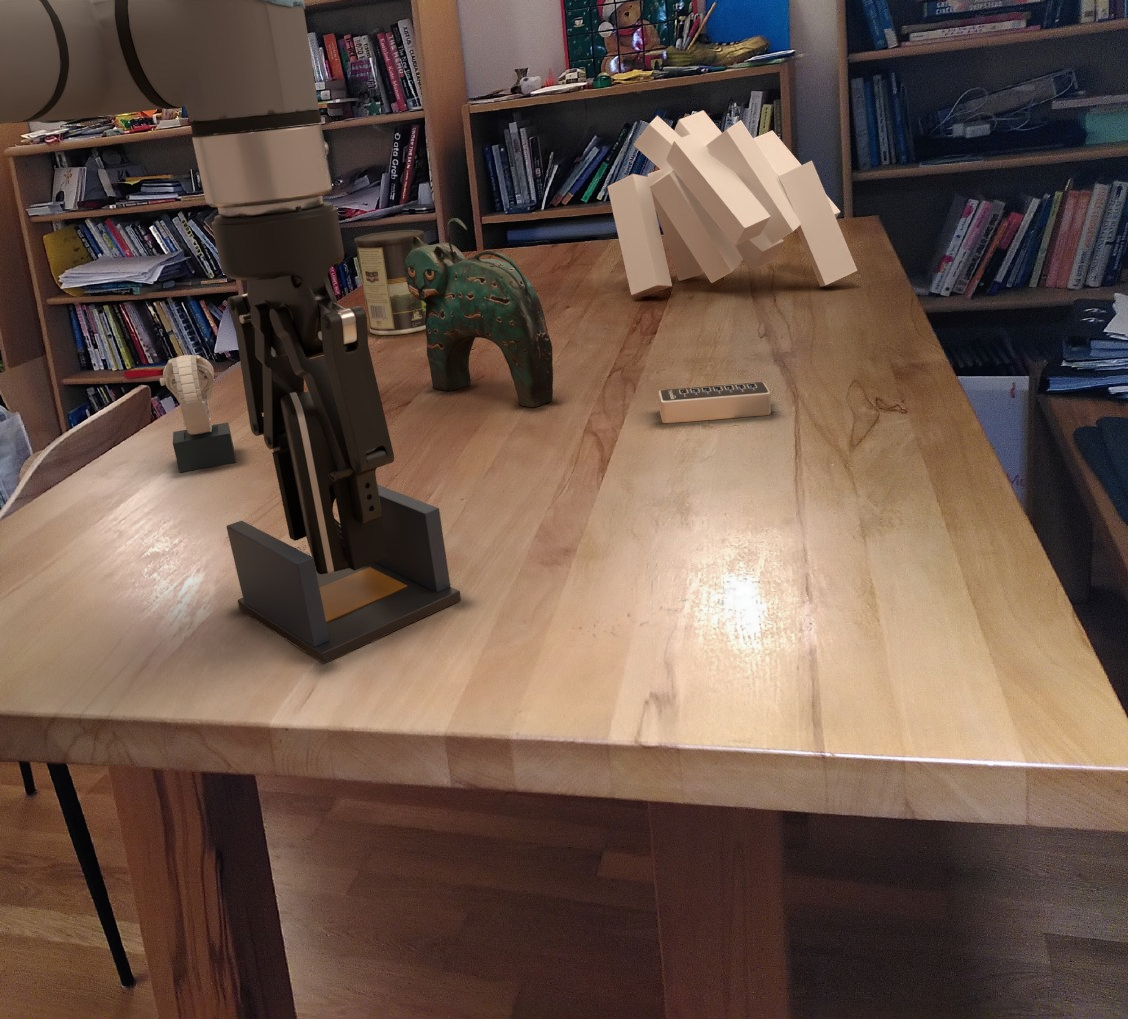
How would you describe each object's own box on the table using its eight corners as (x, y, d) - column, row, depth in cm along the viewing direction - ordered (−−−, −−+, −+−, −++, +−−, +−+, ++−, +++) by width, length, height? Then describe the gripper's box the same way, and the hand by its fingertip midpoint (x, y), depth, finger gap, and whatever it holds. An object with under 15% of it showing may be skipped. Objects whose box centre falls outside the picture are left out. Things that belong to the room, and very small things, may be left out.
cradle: (238, 609, 75) (218, 522, 72) (369, 556, 81) (354, 475, 79) (323, 664, 66) (304, 568, 64) (461, 600, 73) (448, 511, 70)
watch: (233, 445, 112) (211, 344, 108) (236, 467, 105) (212, 360, 101) (179, 455, 110) (154, 353, 106) (178, 478, 103) (151, 370, 99)
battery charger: (376, 568, 70) (348, 404, 65) (318, 580, 69) (286, 414, 64) (360, 532, 76) (333, 379, 72) (307, 542, 75) (277, 388, 70)
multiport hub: (771, 414, 105) (771, 392, 104) (662, 423, 105) (661, 401, 105) (764, 402, 109) (764, 380, 108) (659, 410, 110) (658, 389, 109)
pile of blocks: (843, 296, 178) (767, 108, 179) (887, 252, 149) (795, 26, 150) (653, 372, 180) (578, 185, 181) (659, 344, 150) (569, 121, 151)
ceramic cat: (416, 389, 126) (391, 219, 119) (457, 376, 130) (436, 211, 123) (529, 413, 113) (509, 223, 105) (570, 397, 117) (554, 214, 110)
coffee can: (443, 318, 165) (431, 227, 159) (425, 333, 155) (412, 237, 150) (381, 322, 167) (367, 231, 161) (360, 337, 157) (344, 242, 152)
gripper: (418, 198, 59) (469, 566, 67) (253, 195, 73) (312, 498, 81) (299, 219, 54) (370, 610, 63) (148, 210, 68) (223, 530, 77)
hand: (337, 546), depth 72 cm, fingers closed on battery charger, 7 cm apart
